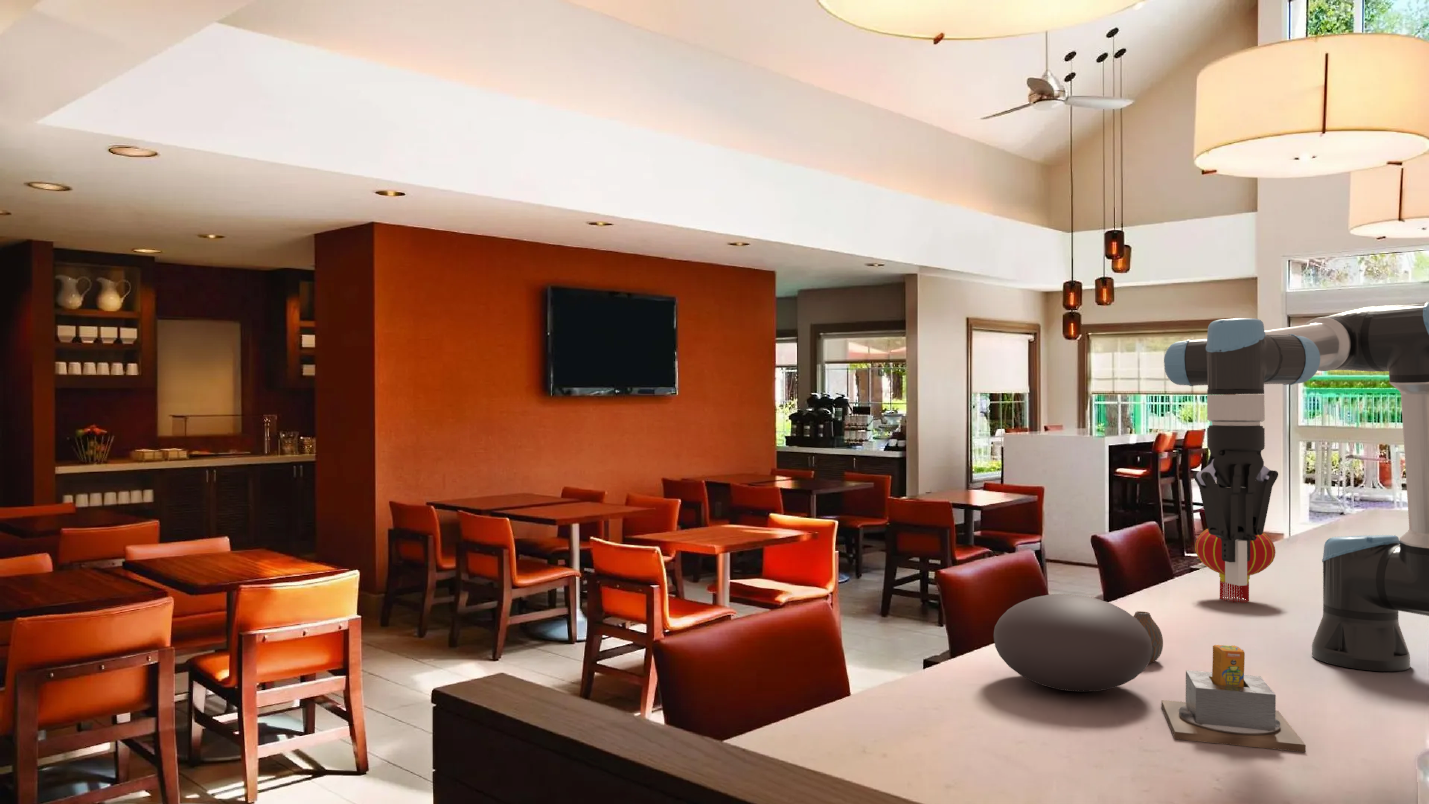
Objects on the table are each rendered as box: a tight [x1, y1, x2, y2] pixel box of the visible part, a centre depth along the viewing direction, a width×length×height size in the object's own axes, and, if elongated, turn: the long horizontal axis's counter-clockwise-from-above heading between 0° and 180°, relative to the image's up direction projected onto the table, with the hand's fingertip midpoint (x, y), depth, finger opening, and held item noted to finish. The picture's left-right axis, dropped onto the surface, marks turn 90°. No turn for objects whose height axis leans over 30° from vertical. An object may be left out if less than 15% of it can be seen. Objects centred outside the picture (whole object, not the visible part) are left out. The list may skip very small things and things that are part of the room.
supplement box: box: [1211, 644, 1246, 687], centre depth 144 cm, size 3×3×10 cm
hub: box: [1179, 669, 1280, 736], centre depth 144 cm, size 13×13×6 cm
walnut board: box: [1160, 699, 1307, 753], centre depth 144 cm, size 16×16×1 cm
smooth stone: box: [993, 593, 1152, 693], centre depth 165 cm, size 25×25×15 cm
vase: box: [1132, 610, 1164, 664], centre depth 183 cm, size 7×7×9 cm
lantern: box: [1194, 528, 1277, 603], centre depth 242 cm, size 17×17×30 cm
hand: (1236, 583), depth 147 cm, fingers closed
